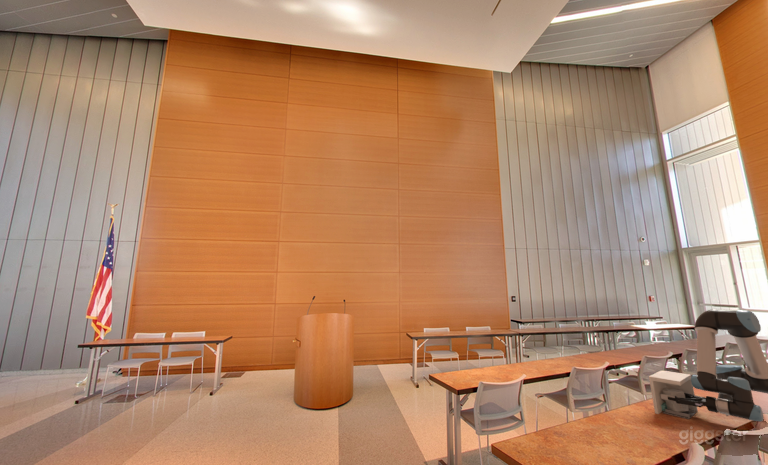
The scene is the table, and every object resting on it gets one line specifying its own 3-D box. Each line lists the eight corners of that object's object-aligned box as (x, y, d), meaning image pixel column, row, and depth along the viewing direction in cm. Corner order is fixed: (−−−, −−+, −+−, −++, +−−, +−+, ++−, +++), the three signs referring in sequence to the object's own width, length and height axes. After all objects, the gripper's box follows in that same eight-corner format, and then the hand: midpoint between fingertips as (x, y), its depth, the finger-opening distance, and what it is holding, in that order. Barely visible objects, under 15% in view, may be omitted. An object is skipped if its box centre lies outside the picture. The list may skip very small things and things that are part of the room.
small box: (680, 408, 180) (675, 388, 182) (689, 411, 174) (684, 391, 177) (666, 409, 180) (661, 389, 182) (675, 412, 174) (670, 391, 177)
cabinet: (697, 411, 179) (690, 374, 182) (687, 421, 165) (679, 381, 169) (667, 404, 189) (661, 370, 193) (655, 413, 176) (648, 376, 180)
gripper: (714, 417, 158) (658, 405, 176) (723, 408, 170) (670, 397, 188) (711, 402, 159) (656, 391, 177) (720, 393, 172) (668, 384, 190)
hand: (663, 394), depth 183 cm, fingers open, 10 cm apart
